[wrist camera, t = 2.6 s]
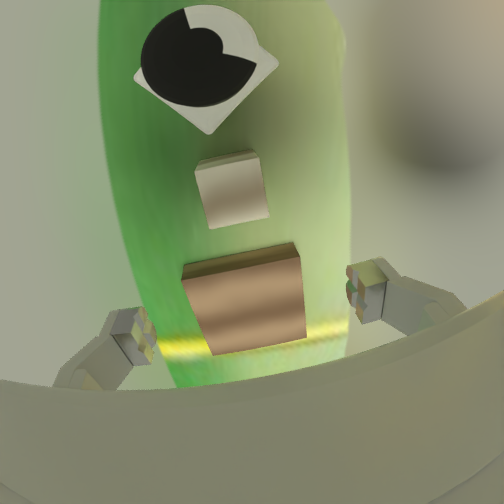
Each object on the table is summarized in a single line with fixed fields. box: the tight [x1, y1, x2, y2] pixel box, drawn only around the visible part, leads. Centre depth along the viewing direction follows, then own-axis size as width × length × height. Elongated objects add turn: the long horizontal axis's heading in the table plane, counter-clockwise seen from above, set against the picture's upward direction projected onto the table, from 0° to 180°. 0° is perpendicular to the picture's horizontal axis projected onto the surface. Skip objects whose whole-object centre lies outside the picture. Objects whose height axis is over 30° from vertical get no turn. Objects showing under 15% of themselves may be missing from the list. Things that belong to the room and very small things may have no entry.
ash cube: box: [194, 149, 269, 230], centre depth 23 cm, size 5×5×5 cm
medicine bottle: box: [134, 5, 279, 134], centre depth 15 cm, size 7×7×12 cm
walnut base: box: [181, 243, 307, 356], centre depth 31 cm, size 12×12×3 cm
